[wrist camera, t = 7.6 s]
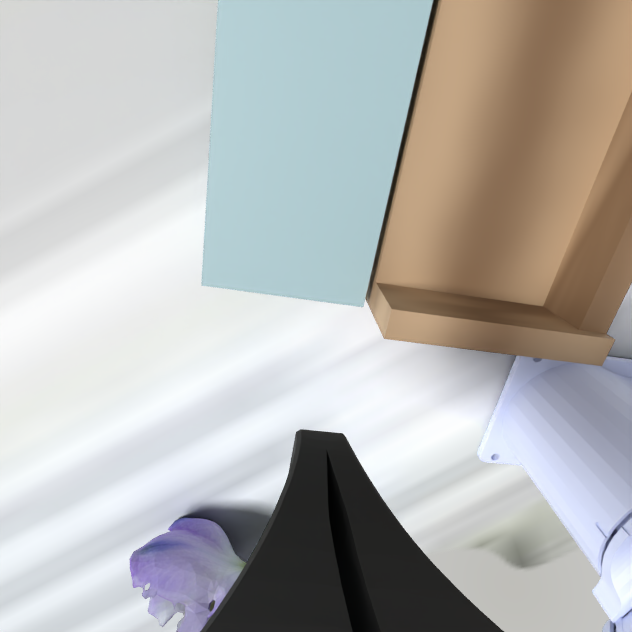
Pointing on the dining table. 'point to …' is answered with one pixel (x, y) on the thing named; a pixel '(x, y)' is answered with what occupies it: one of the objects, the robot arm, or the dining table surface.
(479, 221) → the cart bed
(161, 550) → the flower
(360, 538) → the robot arm
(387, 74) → the light blue panel
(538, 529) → the dining table surface
